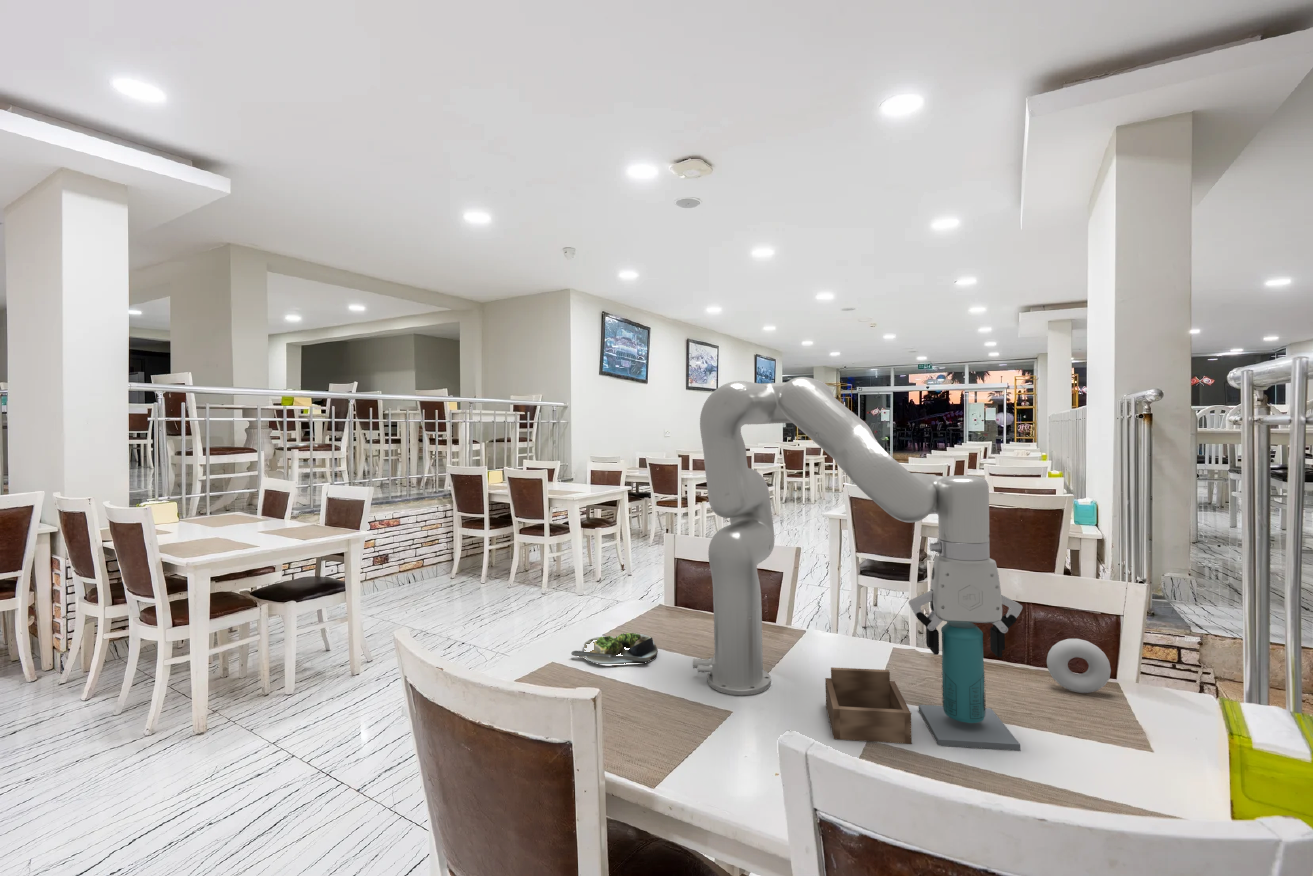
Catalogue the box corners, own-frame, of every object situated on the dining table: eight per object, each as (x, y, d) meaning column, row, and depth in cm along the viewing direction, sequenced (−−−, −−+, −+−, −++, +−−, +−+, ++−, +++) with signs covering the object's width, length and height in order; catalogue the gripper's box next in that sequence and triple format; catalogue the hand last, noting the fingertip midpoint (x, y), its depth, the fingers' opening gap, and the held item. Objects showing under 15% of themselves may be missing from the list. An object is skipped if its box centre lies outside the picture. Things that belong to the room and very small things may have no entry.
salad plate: (572, 675, 127) (571, 654, 127) (570, 645, 144) (570, 626, 144) (662, 668, 130) (662, 646, 130) (650, 639, 147) (650, 620, 147)
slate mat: (938, 745, 96) (938, 739, 96) (918, 710, 108) (918, 704, 107) (1020, 750, 94) (1020, 744, 94) (991, 714, 105) (991, 708, 105)
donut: (1108, 692, 113) (1108, 639, 112) (1113, 700, 109) (1113, 645, 109) (1045, 684, 117) (1044, 632, 117) (1048, 691, 114) (1047, 638, 113)
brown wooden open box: (833, 739, 98) (833, 696, 98) (825, 705, 110) (825, 667, 110) (911, 744, 96) (910, 700, 96) (894, 708, 108) (894, 670, 108)
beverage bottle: (991, 734, 97) (990, 610, 96) (947, 731, 98) (945, 609, 98) (978, 715, 103) (977, 598, 103) (937, 712, 104) (935, 597, 104)
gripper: (914, 554, 98) (915, 659, 98) (1030, 556, 95) (1031, 664, 95) (903, 545, 105) (904, 642, 105) (1011, 546, 102) (1012, 646, 103)
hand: (964, 652), depth 100 cm, fingers open, 9 cm apart
